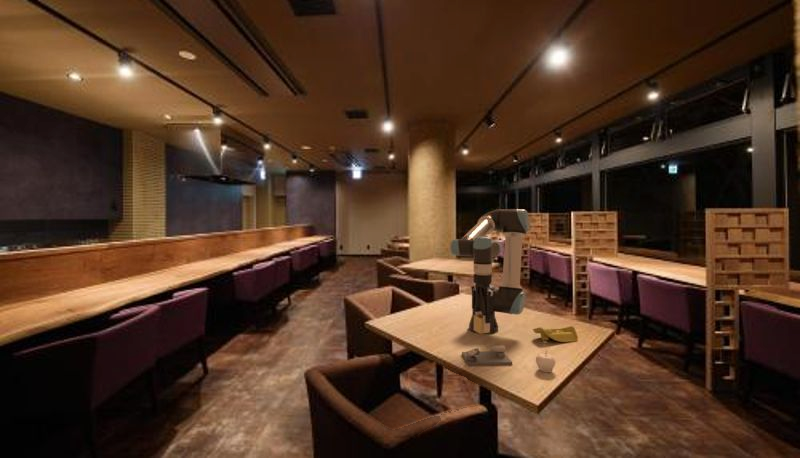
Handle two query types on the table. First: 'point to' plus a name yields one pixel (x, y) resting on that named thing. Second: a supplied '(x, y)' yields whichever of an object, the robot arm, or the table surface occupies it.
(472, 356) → the shaft
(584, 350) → the table surface
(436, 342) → the table surface
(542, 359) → the plain white apple
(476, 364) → the bolted mounting plate
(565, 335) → the plastic component
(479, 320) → the orange rectangular block
